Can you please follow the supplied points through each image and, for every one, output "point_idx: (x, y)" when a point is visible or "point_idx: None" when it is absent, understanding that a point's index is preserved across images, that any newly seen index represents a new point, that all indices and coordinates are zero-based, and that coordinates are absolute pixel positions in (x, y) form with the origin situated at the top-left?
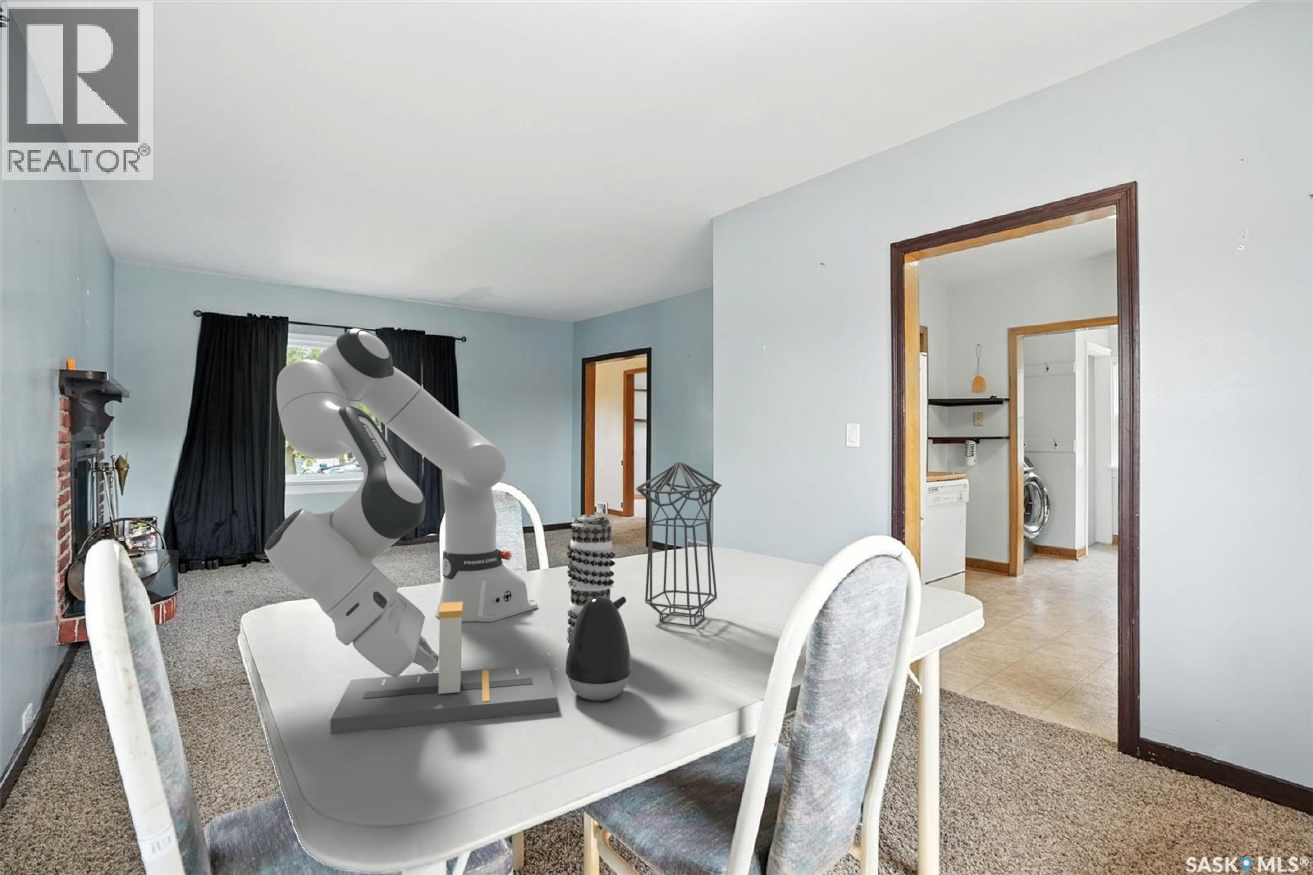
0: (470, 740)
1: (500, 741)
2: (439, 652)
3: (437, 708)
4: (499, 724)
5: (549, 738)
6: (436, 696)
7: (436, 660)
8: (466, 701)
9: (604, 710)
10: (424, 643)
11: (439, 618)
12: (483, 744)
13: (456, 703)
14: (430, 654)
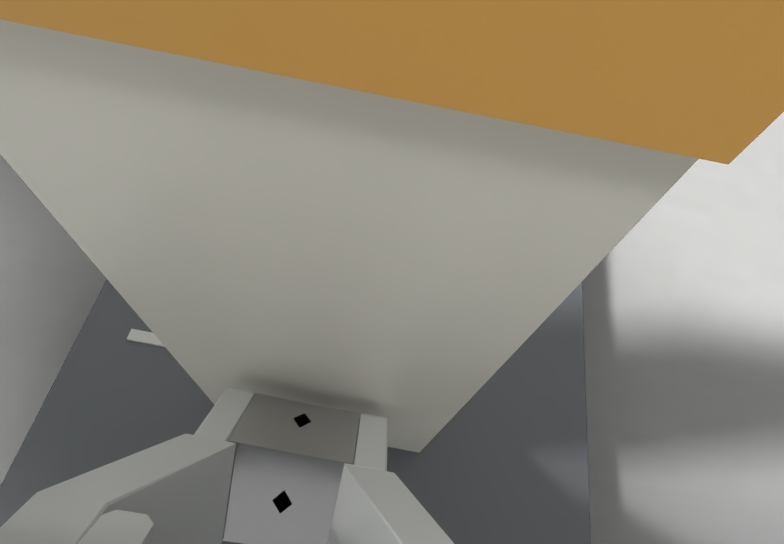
0: (733, 380)
1: (746, 290)
2: (479, 382)
3: (585, 480)
4: (616, 264)
5: (733, 169)
6: (423, 465)
7: (354, 420)
8: (531, 334)
9: None
10: (129, 507)
11: (737, 150)
12: (766, 344)
13: (546, 380)
14: (321, 462)
